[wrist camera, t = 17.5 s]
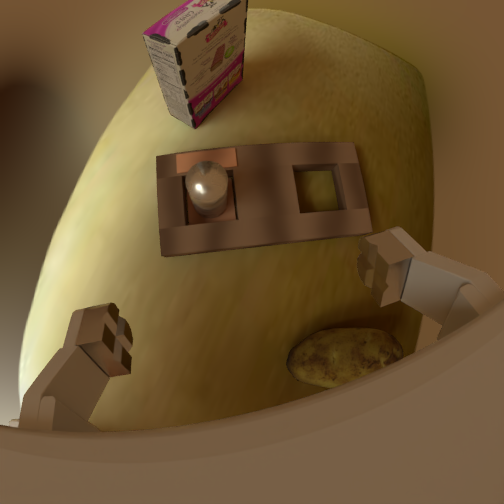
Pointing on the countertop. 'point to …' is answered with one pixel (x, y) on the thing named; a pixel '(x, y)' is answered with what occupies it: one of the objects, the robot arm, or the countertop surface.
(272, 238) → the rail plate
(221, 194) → the metal peg
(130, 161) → the countertop surface
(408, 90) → the countertop surface
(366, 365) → the potato
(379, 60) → the countertop surface
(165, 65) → the candy bar box
